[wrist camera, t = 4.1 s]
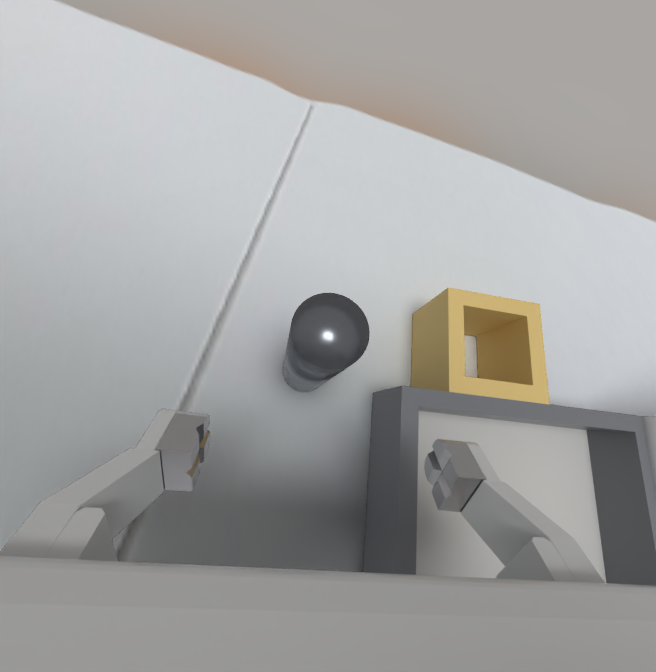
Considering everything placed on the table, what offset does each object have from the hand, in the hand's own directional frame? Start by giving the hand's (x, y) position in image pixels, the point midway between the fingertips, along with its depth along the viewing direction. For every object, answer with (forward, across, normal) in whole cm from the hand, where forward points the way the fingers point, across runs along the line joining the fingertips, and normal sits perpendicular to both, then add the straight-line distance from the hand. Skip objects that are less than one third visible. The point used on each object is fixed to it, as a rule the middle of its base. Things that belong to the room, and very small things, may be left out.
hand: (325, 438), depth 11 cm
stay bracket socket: (+11, -11, +2) cm, 16 cm away
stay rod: (+10, 0, +4) cm, 10 cm away
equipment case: (+5, -13, +9) cm, 16 cm away
